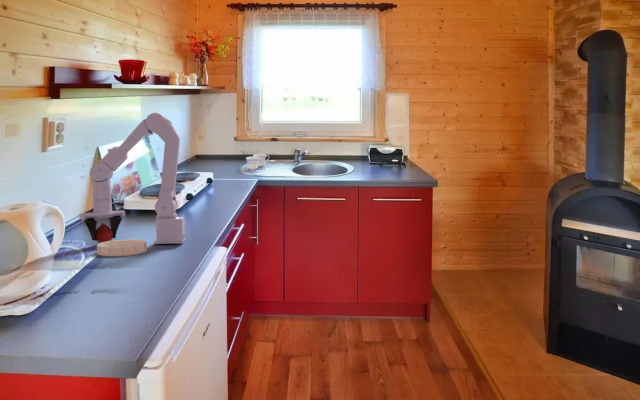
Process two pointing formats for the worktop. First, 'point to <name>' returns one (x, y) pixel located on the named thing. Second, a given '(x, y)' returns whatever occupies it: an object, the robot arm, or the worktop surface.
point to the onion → (103, 233)
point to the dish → (121, 247)
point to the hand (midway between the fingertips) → (103, 239)
